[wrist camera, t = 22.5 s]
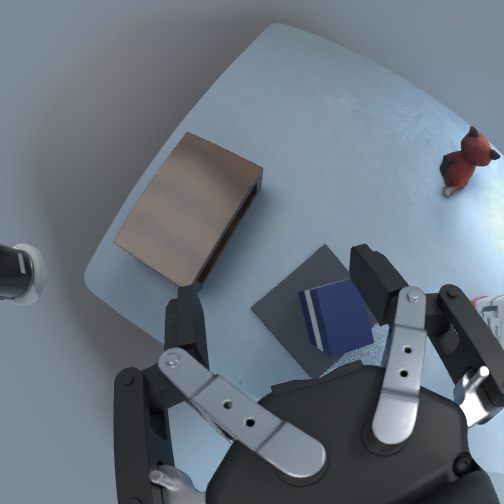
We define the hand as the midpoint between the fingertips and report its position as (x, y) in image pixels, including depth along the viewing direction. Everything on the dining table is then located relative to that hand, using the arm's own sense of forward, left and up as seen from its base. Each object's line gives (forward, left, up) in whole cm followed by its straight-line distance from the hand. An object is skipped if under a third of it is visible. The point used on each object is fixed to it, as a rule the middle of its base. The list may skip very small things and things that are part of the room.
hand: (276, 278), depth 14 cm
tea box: (+5, -8, -26) cm, 28 cm away
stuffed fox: (+41, -8, -27) cm, 50 cm away
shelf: (0, +14, -27) cm, 30 cm away
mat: (+5, -8, -27) cm, 29 cm away
